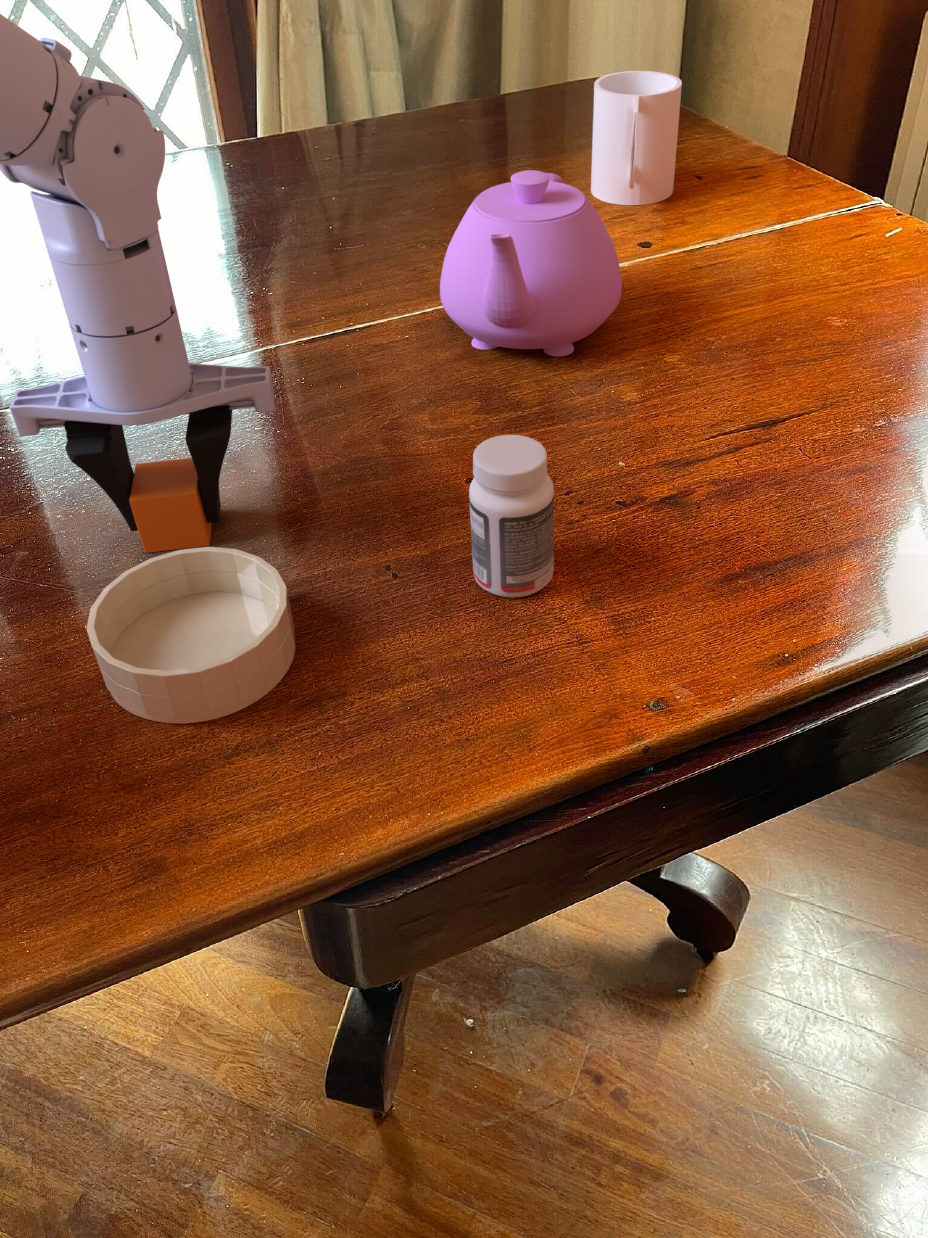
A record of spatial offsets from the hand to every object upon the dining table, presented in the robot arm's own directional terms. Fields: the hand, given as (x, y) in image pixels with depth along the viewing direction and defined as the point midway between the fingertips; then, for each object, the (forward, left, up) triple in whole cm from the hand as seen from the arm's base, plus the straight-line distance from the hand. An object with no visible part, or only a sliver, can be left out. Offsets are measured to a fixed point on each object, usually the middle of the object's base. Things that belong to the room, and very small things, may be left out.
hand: (176, 517), depth 68 cm
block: (0, 0, -1) cm, 1 cm away
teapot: (+26, +22, -1) cm, 34 cm away
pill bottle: (+20, -8, -1) cm, 22 cm away
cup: (+41, +49, -1) cm, 64 cm away
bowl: (+2, -12, -1) cm, 12 cm away
